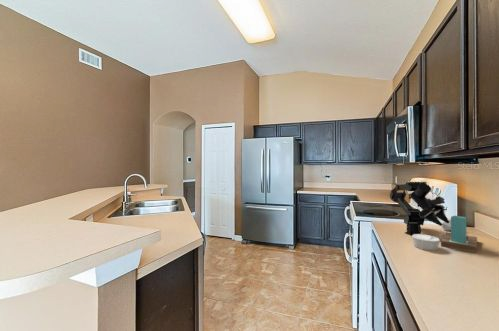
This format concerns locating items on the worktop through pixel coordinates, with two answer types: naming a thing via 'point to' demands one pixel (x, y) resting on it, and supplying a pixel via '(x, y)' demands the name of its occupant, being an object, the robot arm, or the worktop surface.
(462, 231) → the teal block
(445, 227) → the die
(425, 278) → the worktop surface
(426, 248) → the ramekin
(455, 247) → the puzzle board
